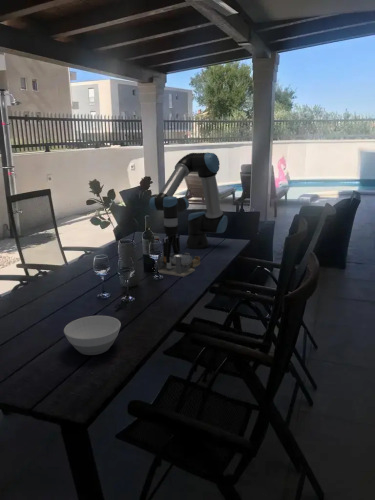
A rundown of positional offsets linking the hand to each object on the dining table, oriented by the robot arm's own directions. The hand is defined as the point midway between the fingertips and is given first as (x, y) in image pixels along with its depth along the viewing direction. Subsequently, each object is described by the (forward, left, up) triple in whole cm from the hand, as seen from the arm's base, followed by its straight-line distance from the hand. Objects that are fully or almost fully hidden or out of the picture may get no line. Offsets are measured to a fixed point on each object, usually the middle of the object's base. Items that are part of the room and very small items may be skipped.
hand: (172, 266), depth 238 cm
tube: (0, 0, +2) cm, 2 cm away
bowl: (+90, +24, -3) cm, 93 cm away
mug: (-18, -25, -3) cm, 31 cm away
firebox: (0, 0, -3) cm, 3 cm away
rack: (-14, -2, -3) cm, 14 cm away
